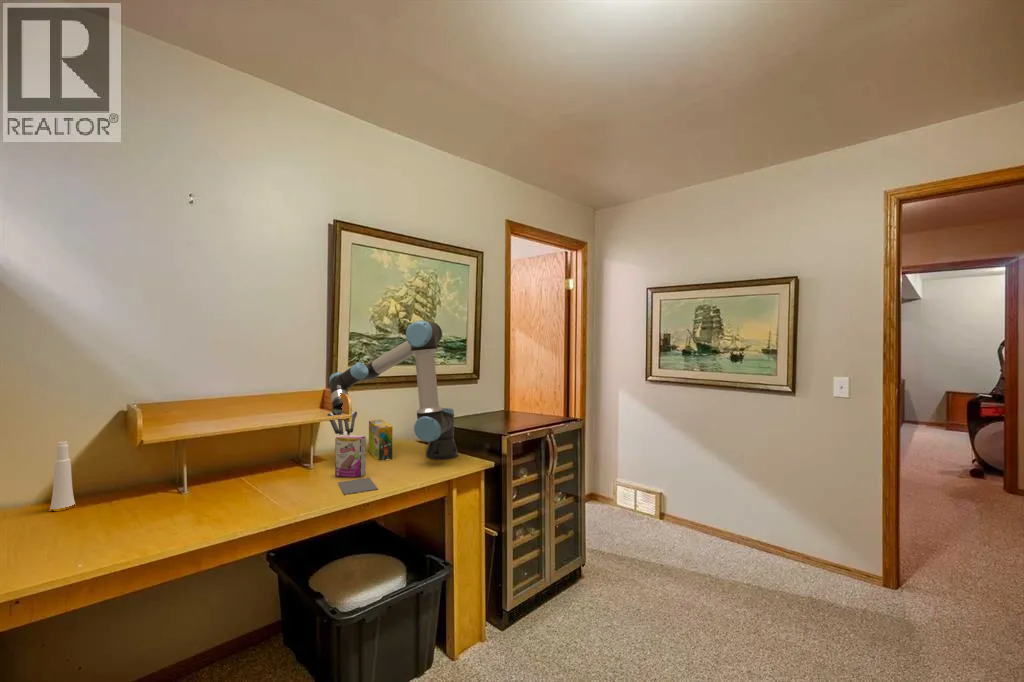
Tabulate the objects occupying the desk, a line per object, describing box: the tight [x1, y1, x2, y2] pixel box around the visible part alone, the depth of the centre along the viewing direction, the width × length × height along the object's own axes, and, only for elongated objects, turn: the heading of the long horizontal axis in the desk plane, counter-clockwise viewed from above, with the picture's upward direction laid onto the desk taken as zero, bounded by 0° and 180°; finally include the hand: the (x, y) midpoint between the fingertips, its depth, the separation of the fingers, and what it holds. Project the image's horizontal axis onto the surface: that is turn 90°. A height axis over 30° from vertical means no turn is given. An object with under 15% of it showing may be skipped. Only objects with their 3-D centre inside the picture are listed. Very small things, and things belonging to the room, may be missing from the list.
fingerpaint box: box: [368, 419, 393, 461], centre depth 214 cm, size 19×7×16 cm, turn 32°
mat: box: [337, 477, 379, 496], centre depth 170 cm, size 12×15×1 cm
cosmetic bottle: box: [49, 440, 76, 510], centre depth 147 cm, size 6×6×22 cm
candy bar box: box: [334, 434, 367, 478], centre depth 183 cm, size 11×5×16 cm, turn 84°
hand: (346, 445), depth 190 cm, fingers closed
